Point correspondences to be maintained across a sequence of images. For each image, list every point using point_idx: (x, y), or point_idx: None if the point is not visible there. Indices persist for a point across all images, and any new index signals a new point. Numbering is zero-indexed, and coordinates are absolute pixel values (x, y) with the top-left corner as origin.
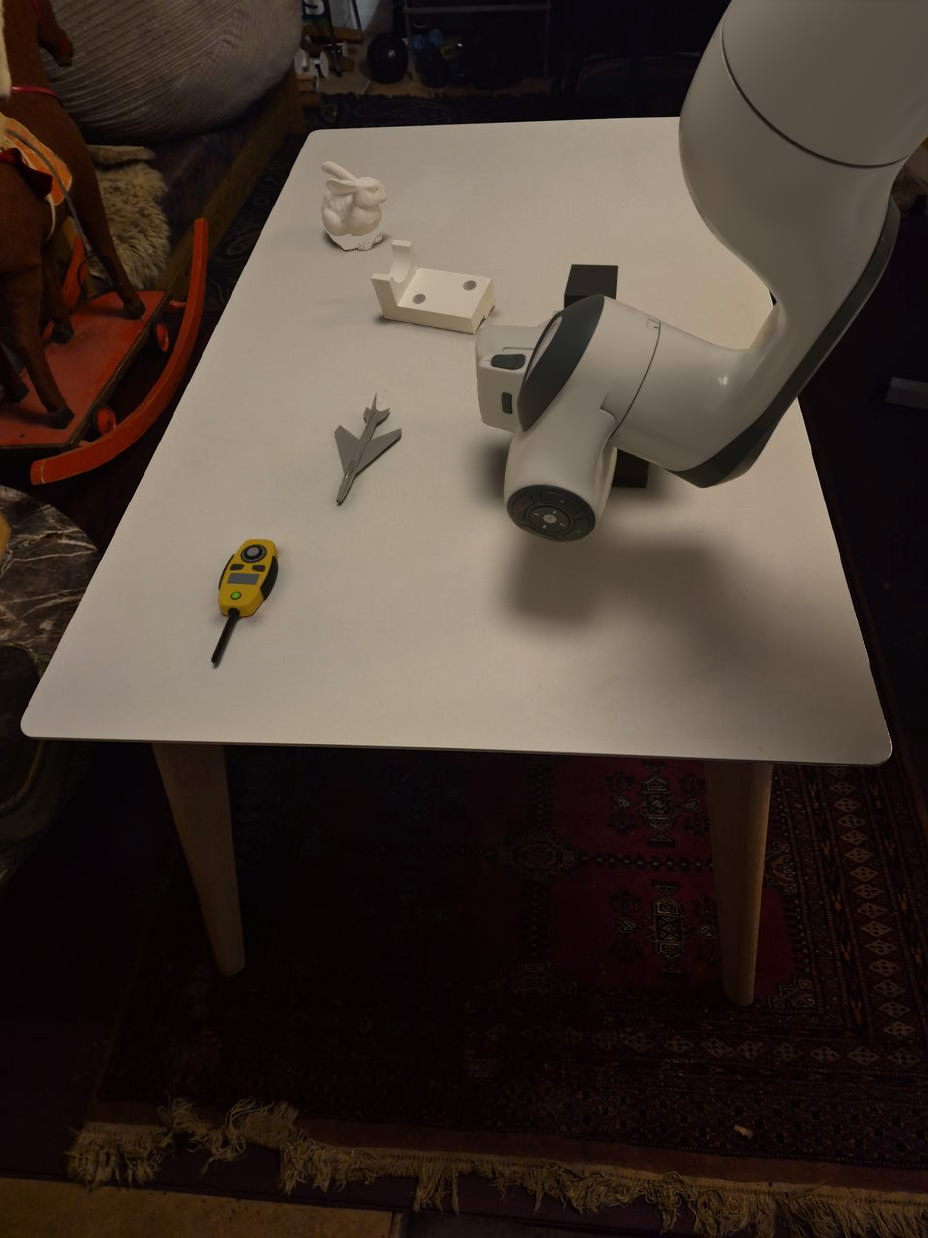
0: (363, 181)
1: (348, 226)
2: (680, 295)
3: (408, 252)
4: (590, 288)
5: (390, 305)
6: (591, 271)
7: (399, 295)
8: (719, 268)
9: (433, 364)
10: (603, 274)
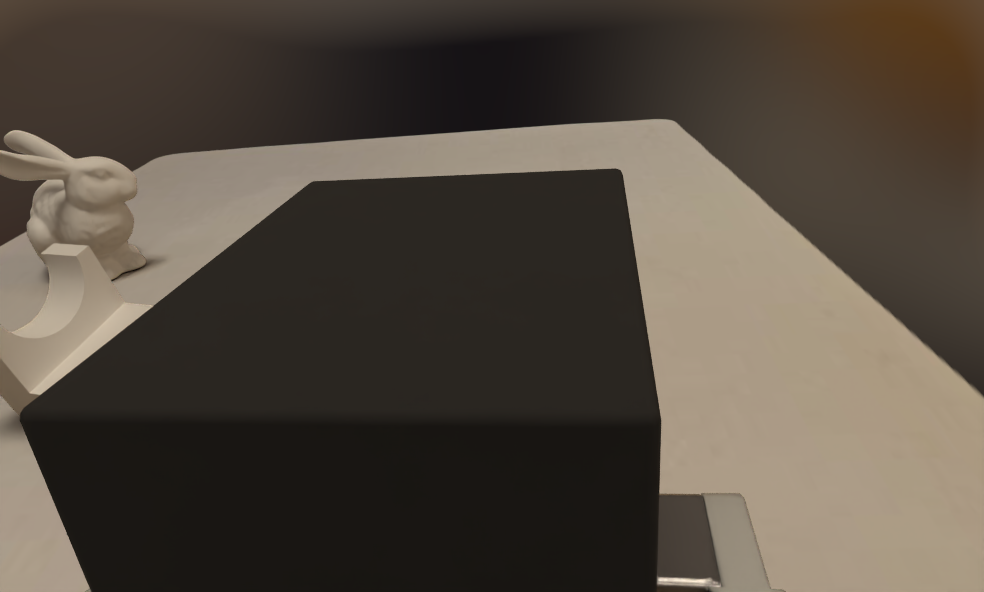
0: (81, 161)
1: (64, 242)
2: (726, 339)
3: (78, 269)
4: (376, 326)
5: (16, 392)
6: (428, 205)
7: (38, 367)
8: (783, 283)
9: (40, 573)
10: (520, 216)
